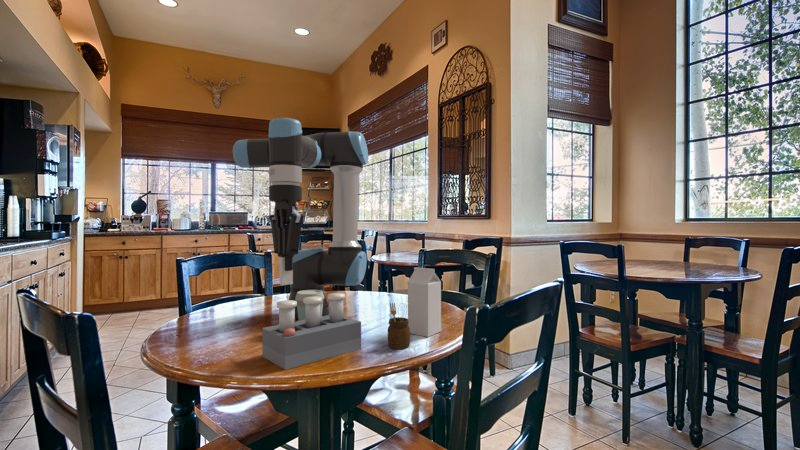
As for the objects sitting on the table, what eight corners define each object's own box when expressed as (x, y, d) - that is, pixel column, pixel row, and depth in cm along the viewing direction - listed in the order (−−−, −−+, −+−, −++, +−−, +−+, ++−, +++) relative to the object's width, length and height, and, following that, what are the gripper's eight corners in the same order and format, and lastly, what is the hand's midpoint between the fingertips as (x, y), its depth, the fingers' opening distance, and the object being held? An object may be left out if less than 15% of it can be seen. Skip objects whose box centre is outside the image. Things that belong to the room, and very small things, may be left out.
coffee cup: (318, 336, 114) (317, 294, 114) (290, 335, 116) (289, 294, 116) (329, 328, 122) (328, 289, 122) (303, 327, 124) (302, 288, 124)
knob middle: (300, 325, 101) (299, 298, 101) (316, 322, 104) (315, 295, 104) (309, 329, 97) (309, 300, 97) (325, 326, 100) (325, 298, 100)
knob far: (324, 321, 105) (324, 294, 105) (338, 318, 108) (338, 292, 108) (333, 324, 102) (333, 296, 102) (348, 321, 105) (348, 294, 105)
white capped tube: (273, 331, 96) (273, 302, 96) (291, 327, 99) (291, 299, 99) (282, 335, 92) (282, 305, 92) (300, 331, 96) (300, 302, 96)
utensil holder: (414, 344, 107) (413, 299, 106) (402, 351, 101) (401, 303, 101) (395, 341, 110) (394, 297, 109) (382, 347, 104) (382, 301, 104)
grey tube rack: (262, 356, 98) (262, 323, 98) (335, 338, 112) (335, 309, 112) (285, 369, 89) (285, 333, 89) (361, 348, 103) (361, 317, 103)
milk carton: (428, 337, 113) (427, 270, 113) (407, 333, 117) (407, 268, 117) (441, 331, 118) (441, 267, 118) (421, 328, 123) (421, 266, 122)
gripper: (258, 186, 97) (259, 283, 98) (283, 181, 88) (284, 289, 88) (287, 187, 103) (287, 280, 103) (313, 183, 93) (314, 285, 93)
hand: (286, 284), depth 95 cm, fingers closed
